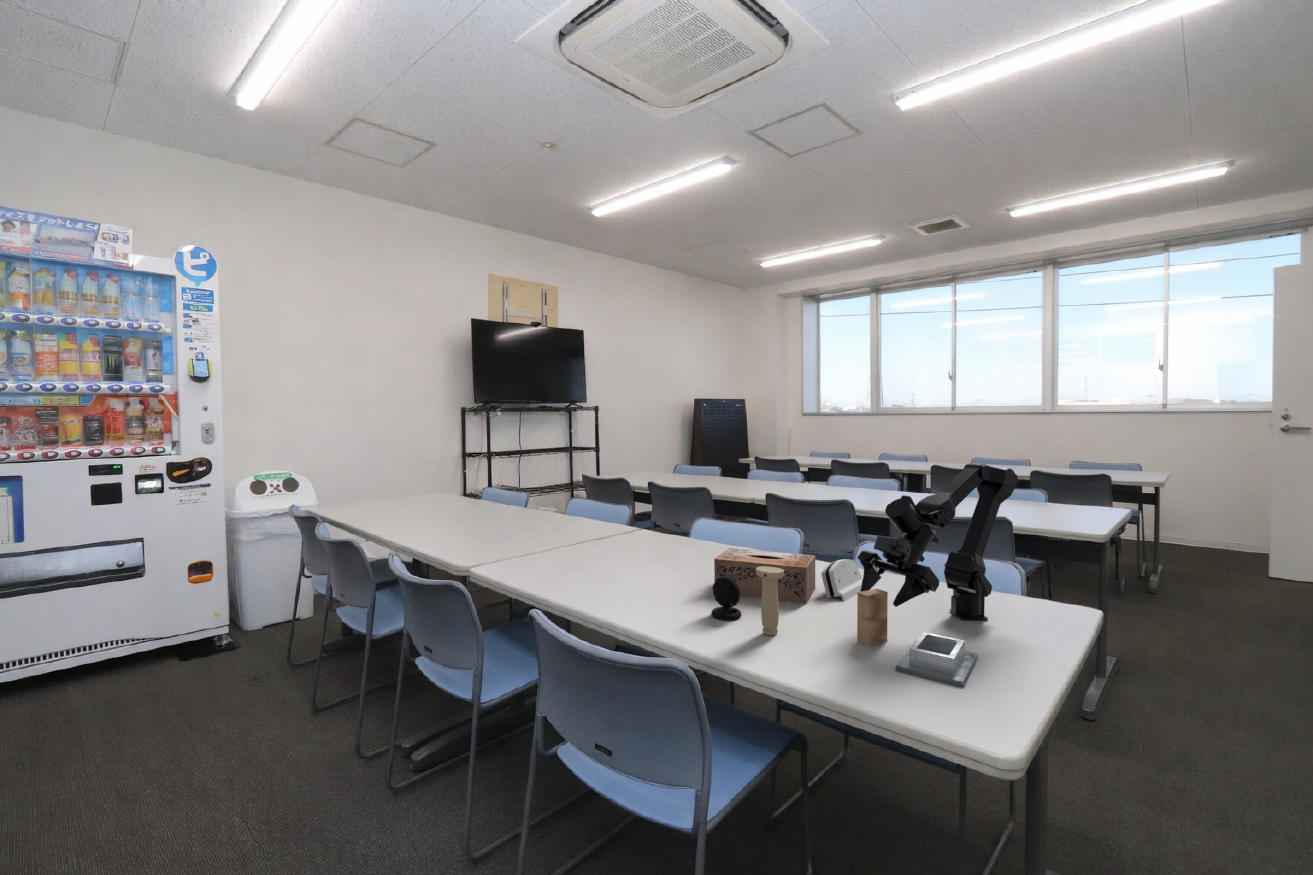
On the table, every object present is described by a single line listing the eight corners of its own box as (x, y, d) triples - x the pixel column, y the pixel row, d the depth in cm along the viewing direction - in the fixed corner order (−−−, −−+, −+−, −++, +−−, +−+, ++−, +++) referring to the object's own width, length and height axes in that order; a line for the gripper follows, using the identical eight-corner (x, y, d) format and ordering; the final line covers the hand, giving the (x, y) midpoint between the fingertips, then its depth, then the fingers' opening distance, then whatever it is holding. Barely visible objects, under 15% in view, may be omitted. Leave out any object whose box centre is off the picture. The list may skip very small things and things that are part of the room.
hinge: (844, 601, 157) (832, 564, 159) (828, 603, 160) (817, 567, 162) (869, 587, 170) (857, 553, 171) (854, 589, 173) (843, 556, 175)
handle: (778, 640, 131) (778, 574, 130) (752, 634, 135) (752, 569, 134) (787, 633, 135) (787, 569, 134) (762, 627, 139) (761, 565, 138)
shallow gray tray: (915, 644, 128) (915, 626, 128) (977, 657, 120) (977, 638, 120) (895, 670, 115) (895, 650, 115) (963, 687, 108) (963, 665, 108)
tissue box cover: (815, 589, 169) (815, 555, 168) (806, 604, 156) (806, 567, 155) (729, 580, 179) (729, 547, 179) (714, 593, 166) (714, 558, 166)
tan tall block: (876, 636, 133) (877, 588, 132) (887, 640, 130) (887, 591, 130) (857, 641, 130) (857, 592, 130) (867, 645, 127) (868, 596, 127)
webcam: (747, 615, 147) (747, 576, 147) (730, 623, 142) (730, 582, 141) (722, 608, 152) (722, 570, 152) (705, 616, 147) (704, 576, 147)
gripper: (863, 516, 140) (828, 567, 136) (931, 530, 124) (894, 588, 119) (886, 545, 144) (853, 596, 140) (955, 562, 128) (919, 620, 123)
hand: (877, 599), depth 130 cm, fingers open, 9 cm apart
